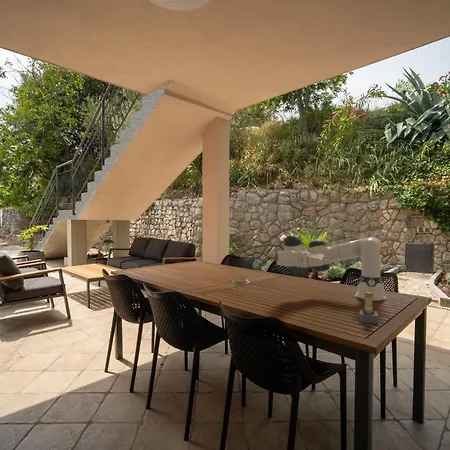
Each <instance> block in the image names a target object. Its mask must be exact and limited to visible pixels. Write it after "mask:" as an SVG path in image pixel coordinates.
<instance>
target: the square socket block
mask: <svg viewBox="0 0 450 450" xmlns="http://www.w3.org/2000/svg"><path fill="white" fill-rule="evenodd" d="M358 318H359V322H360V323H366V324H374V325H375V324H376V325H379V313H378V312H377V311H376V310H372V314H365V309H359V317H358Z"/></svg>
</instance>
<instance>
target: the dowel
mask: <svg viewBox="0 0 450 450" xmlns="http://www.w3.org/2000/svg"><path fill="white" fill-rule="evenodd" d="M373 303H374V302H373V293H371V292H365V299H364V310H365V314H372V311H373Z"/></svg>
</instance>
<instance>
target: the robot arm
mask: <svg viewBox="0 0 450 450" xmlns="http://www.w3.org/2000/svg"><path fill="white" fill-rule="evenodd" d="M308 249H309V250H308ZM308 249H307V247H306V245H305V243H304V242H303V241H302V239H301V238H300V237H299V236H297V235H288V236H286V237H285V238H284V239H283V250H278V251H276V252H275V263H276V265H278V266H283V267H286V269H296V270H297V269H298V268H309V267H310V268H311V269H313V270H314V271H315V272H316V273H320V274H321V273H325V272H328V271H329V270H330V268H331V264H333V262H340V261H341V262H342V261H345V260H353V259H356V258H361V275H360V282H359V283H358V284H357V288H356V290H357V292H356V293H355V294H354V297H355V298H358V299H362V300H365V292H371V293H373V301H379V302H380V301H383V300H387V299H388V297H387V296H385V291H384V287H385V286H384V285H383V284H382V276H381V249H382V242H381V239H379V238H377V237H374V236H369V237H365V238H360V239H356V240H353V241H352V240H351V241H347V242H346V241H345V242H343V243H338V244H334V245H331V246H328V243H326V242H325V241H324V240H322V239H317V238H316V239H313V240H311V241H309V243H308Z"/></svg>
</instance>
